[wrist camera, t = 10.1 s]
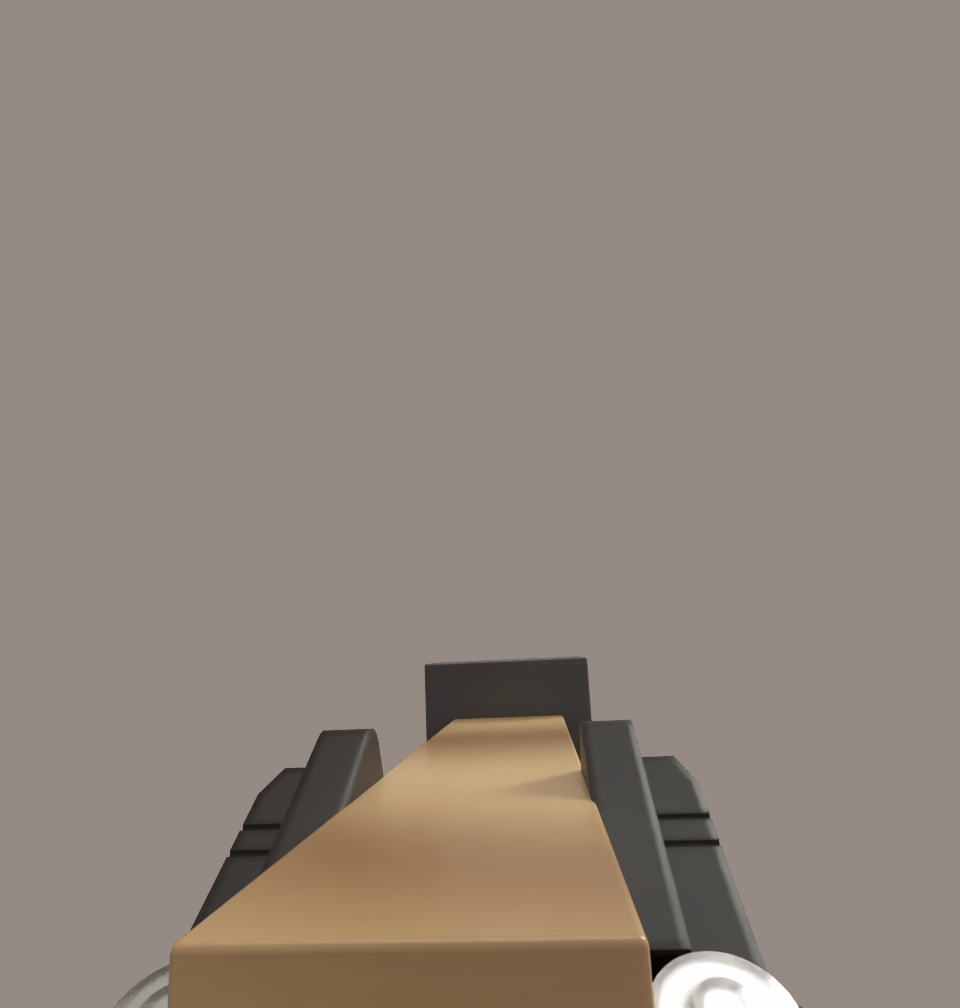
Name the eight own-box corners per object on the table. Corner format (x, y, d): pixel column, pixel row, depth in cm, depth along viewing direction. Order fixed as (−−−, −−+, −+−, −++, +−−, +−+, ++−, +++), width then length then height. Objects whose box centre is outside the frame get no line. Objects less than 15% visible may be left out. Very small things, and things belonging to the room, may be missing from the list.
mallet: (859, 1602, 3) (746, 672, 4) (3, 1559, 4) (70, 701, 5) (589, 801, 22) (578, 656, 23) (448, 805, 22) (443, 662, 23)
